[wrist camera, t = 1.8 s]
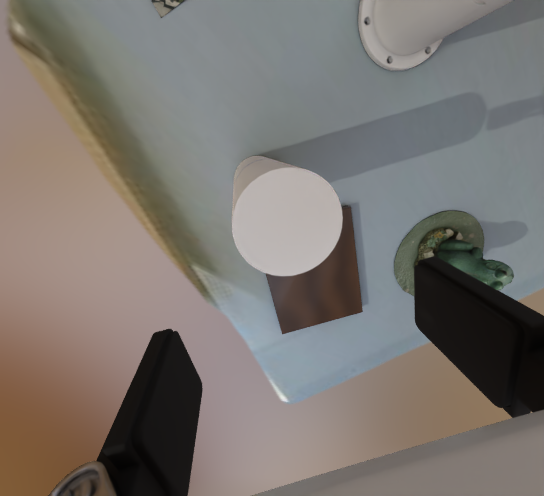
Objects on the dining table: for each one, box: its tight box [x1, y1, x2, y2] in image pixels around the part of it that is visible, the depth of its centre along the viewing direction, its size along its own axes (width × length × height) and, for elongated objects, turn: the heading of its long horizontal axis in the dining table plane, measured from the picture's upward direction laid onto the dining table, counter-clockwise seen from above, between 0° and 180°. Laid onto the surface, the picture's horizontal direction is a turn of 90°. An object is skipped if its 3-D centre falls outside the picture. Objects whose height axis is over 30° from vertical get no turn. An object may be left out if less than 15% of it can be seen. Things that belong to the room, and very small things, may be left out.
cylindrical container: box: [232, 156, 343, 276], centre depth 28 cm, size 7×7×25 cm
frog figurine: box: [394, 211, 514, 296], centre depth 44 cm, size 18×18×12 cm
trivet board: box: [266, 206, 363, 334], centre depth 46 cm, size 16×21×2 cm
